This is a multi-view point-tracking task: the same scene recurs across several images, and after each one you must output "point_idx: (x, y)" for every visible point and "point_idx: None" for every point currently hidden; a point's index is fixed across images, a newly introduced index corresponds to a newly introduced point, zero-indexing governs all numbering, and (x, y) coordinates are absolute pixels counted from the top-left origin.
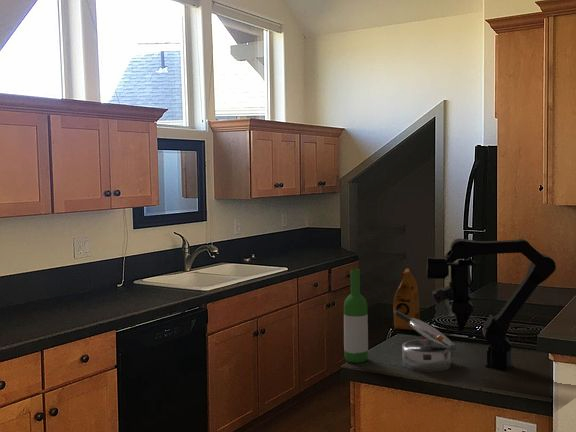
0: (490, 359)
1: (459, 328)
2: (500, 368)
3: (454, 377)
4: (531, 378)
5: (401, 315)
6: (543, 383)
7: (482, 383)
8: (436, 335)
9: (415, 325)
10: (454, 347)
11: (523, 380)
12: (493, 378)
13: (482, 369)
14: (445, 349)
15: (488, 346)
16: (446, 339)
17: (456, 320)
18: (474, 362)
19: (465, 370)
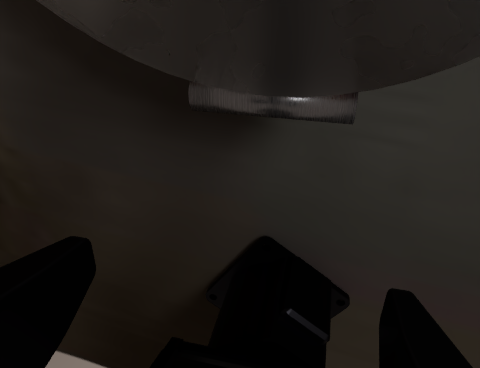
0: (263, 284)
1: (35, 259)
2: (218, 287)
3: (60, 32)
4: (140, 345)
5: None
6: (98, 356)
7: (22, 162)
8: None
9: None
10: (190, 102)
11: (111, 315)
12: (103, 223)
13: (227, 210)
14: None
15: (272, 340)
16: (322, 45)
17: (408, 344)
18: (354, 200)
19: (197, 119)
